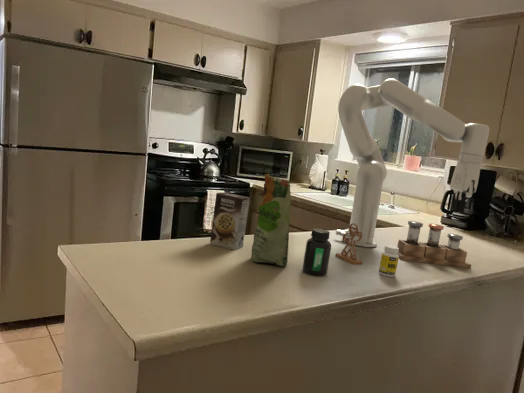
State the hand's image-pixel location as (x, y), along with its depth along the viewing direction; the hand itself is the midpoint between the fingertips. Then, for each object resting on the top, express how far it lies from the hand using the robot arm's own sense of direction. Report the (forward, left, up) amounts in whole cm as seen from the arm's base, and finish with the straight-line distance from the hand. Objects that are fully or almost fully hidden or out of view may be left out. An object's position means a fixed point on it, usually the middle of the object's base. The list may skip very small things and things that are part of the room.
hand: (458, 211), depth 154 cm
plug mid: (-7, 0, -14) cm, 15 cm away
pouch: (-67, -27, -19) cm, 75 cm away
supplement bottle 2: (-31, -25, -19) cm, 44 cm away
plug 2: (+1, 0, -17) cm, 17 cm away
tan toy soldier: (-40, -14, -19) cm, 46 cm away
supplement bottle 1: (-54, -32, -19) cm, 66 cm away
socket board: (-7, 0, -19) cm, 20 cm away
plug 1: (-14, 0, -14) cm, 20 cm away
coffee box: (-79, -14, -19) cm, 82 cm away
